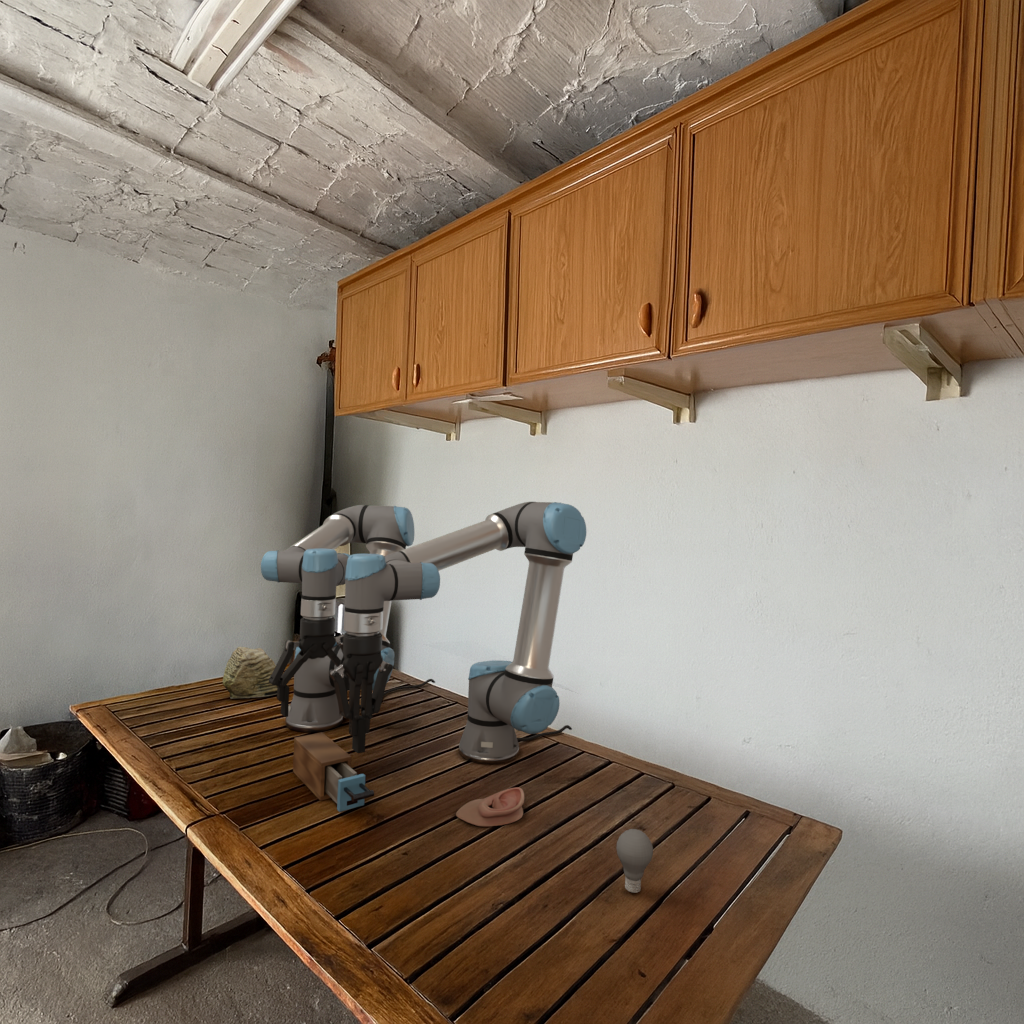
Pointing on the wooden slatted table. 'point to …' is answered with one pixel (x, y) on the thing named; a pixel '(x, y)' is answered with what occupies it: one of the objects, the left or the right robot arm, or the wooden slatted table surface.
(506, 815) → the anatomical model
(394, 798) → the wooden slatted table surface
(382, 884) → the wooden slatted table surface
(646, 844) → the light bulb
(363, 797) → the drawer
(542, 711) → the right robot arm
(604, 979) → the wooden slatted table surface
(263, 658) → the fossil
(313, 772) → the cabinet
